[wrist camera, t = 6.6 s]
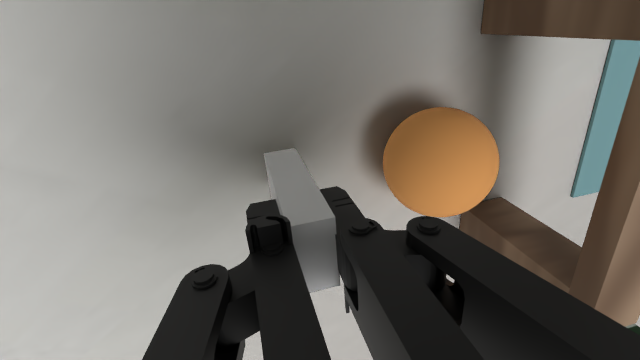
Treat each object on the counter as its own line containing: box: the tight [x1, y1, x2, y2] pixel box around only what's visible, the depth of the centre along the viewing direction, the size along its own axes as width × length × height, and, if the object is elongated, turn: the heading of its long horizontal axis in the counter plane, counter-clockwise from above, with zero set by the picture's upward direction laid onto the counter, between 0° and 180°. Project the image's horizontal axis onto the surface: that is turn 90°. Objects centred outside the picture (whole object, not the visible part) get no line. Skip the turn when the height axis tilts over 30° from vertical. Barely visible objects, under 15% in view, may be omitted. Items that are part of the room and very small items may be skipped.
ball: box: [383, 107, 499, 217], centre depth 17 cm, size 6×6×6 cm
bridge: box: [459, 0, 640, 327], centre depth 17 cm, size 3×14×9 cm, turn 5°
